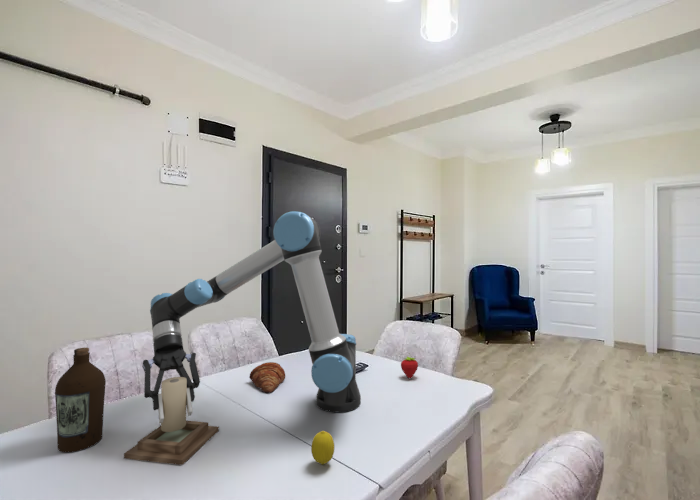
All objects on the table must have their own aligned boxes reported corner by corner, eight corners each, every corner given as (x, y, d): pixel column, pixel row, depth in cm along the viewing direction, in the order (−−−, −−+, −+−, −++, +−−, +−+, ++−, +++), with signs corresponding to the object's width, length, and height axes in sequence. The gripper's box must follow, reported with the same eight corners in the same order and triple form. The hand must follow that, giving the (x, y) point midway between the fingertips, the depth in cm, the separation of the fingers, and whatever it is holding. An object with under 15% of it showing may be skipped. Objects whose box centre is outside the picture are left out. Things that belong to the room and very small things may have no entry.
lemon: (311, 458, 85) (311, 425, 85) (333, 457, 85) (334, 424, 85) (310, 472, 79) (311, 437, 79) (334, 471, 80) (334, 436, 80)
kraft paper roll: (190, 421, 94) (191, 377, 94) (176, 433, 88) (177, 385, 88) (171, 419, 95) (171, 375, 95) (155, 430, 89) (156, 384, 89)
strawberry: (397, 377, 140) (397, 353, 140) (412, 374, 143) (412, 350, 143) (406, 382, 135) (406, 356, 135) (421, 379, 138) (421, 354, 138)
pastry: (297, 382, 135) (298, 361, 135) (268, 395, 123) (268, 373, 123) (268, 373, 145) (268, 354, 145) (238, 385, 132) (238, 364, 132)
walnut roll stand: (218, 430, 98) (218, 419, 98) (182, 465, 82) (182, 451, 82) (168, 426, 100) (168, 415, 100) (123, 458, 84) (123, 445, 84)
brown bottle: (69, 434, 95) (70, 344, 95) (112, 430, 98) (112, 342, 98) (44, 457, 85) (45, 356, 85) (93, 451, 87) (94, 353, 87)
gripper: (199, 342, 109) (212, 413, 96) (129, 351, 98) (131, 434, 85) (203, 328, 105) (217, 401, 91) (130, 337, 94) (133, 421, 80)
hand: (176, 417), depth 88 cm, fingers closed on kraft paper roll, 6 cm apart
